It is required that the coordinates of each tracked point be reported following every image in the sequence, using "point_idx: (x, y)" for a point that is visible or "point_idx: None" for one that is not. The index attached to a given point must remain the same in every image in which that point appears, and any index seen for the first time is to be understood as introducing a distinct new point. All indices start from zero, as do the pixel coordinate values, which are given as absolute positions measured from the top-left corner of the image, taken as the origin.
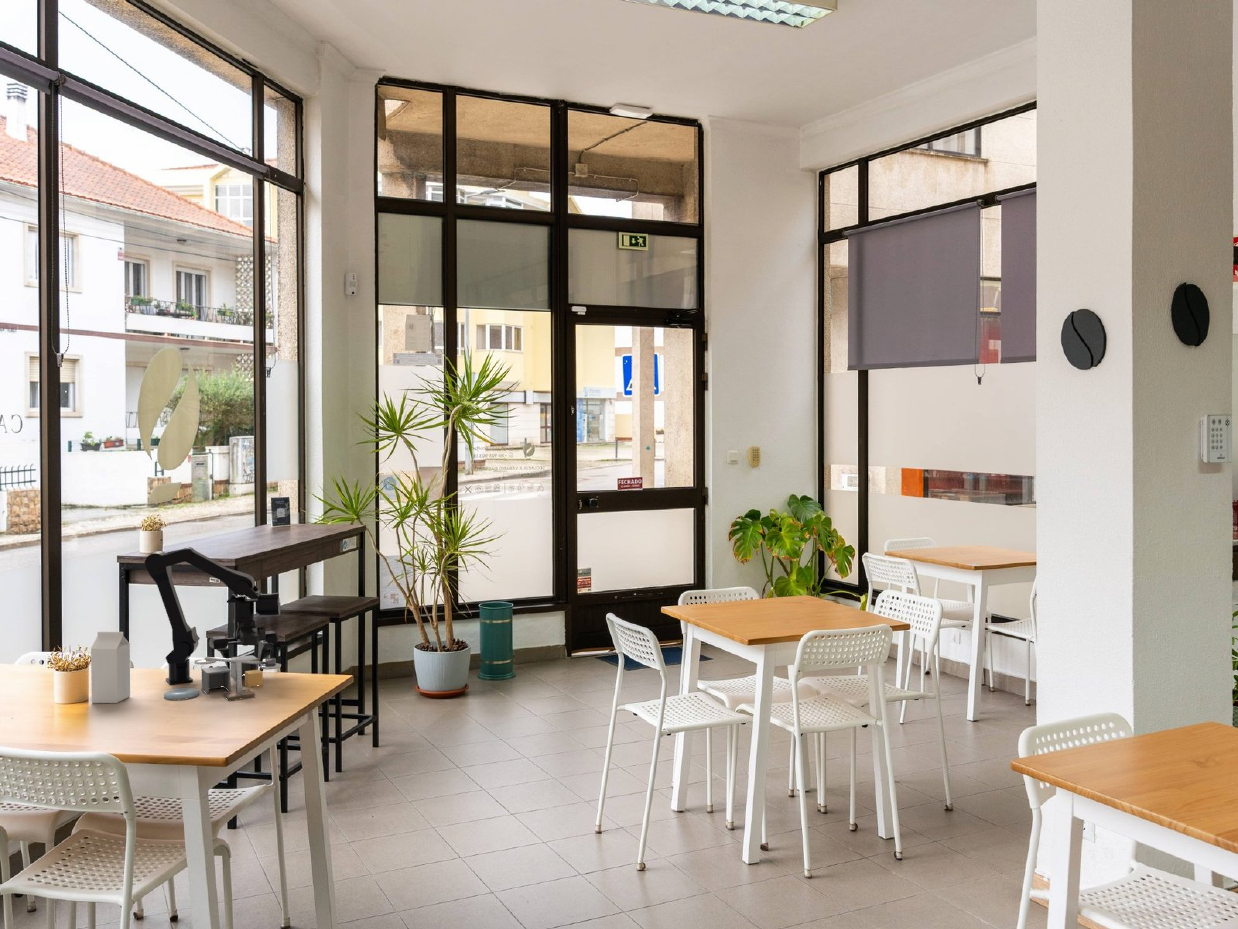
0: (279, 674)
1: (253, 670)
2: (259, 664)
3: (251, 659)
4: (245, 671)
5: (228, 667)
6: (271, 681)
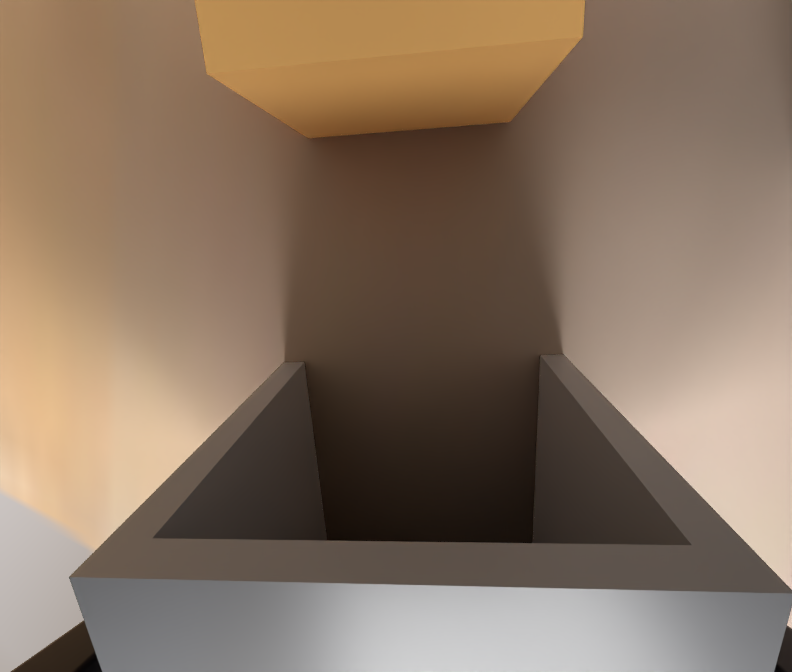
0: (45, 447)
1: (344, 34)
2: None
3: (260, 629)
4: (570, 12)
5: None
6: (138, 128)
